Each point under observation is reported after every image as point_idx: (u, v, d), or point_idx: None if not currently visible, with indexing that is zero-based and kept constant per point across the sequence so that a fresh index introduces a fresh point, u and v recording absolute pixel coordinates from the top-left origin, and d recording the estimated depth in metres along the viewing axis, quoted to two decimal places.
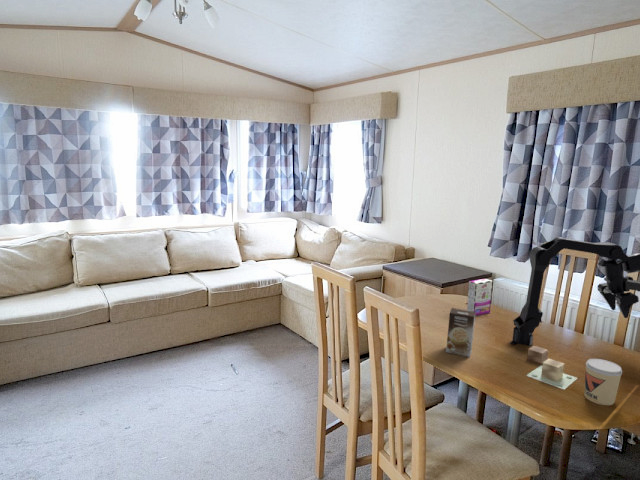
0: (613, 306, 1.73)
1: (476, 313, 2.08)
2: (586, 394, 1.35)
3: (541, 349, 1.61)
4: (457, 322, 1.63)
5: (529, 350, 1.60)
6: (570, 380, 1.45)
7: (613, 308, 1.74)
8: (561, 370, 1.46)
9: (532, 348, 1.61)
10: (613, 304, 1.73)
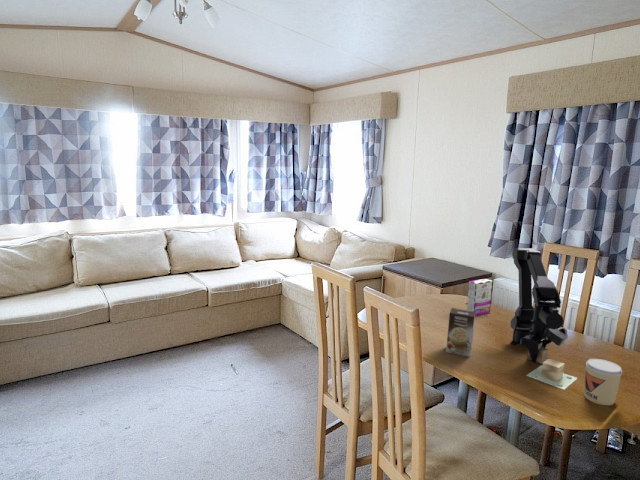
0: None
1: (476, 313, 2.08)
2: (586, 394, 1.35)
3: (541, 348, 1.61)
4: (457, 322, 1.63)
5: None
6: (570, 380, 1.45)
7: None
8: (561, 370, 1.46)
9: None
10: None
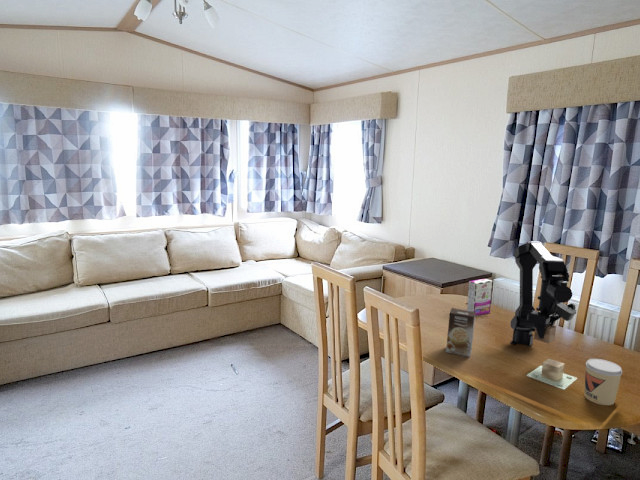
0: None
1: (476, 313, 2.08)
2: (586, 394, 1.35)
3: (548, 325, 1.55)
4: (457, 322, 1.63)
5: None
6: (570, 380, 1.45)
7: None
8: (561, 370, 1.46)
9: None
10: None
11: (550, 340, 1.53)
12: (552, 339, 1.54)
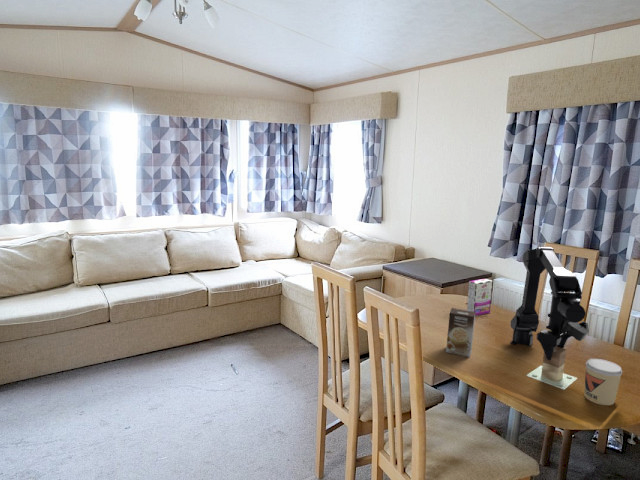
0: None
1: (476, 313, 2.08)
2: (586, 394, 1.35)
3: (558, 348, 1.46)
4: (457, 322, 1.63)
5: None
6: (570, 380, 1.45)
7: None
8: (561, 370, 1.46)
9: None
10: (561, 346, 1.49)
11: (560, 364, 1.44)
12: (562, 363, 1.45)
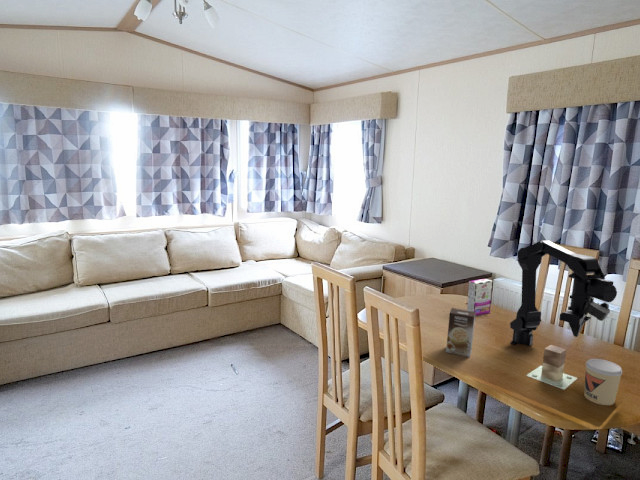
0: None
1: (476, 313, 2.08)
2: (586, 394, 1.35)
3: (558, 348, 1.46)
4: (457, 322, 1.63)
5: (545, 350, 1.46)
6: (570, 380, 1.45)
7: None
8: (561, 370, 1.46)
9: (549, 348, 1.47)
10: None
11: (560, 364, 1.44)
12: (562, 363, 1.45)
